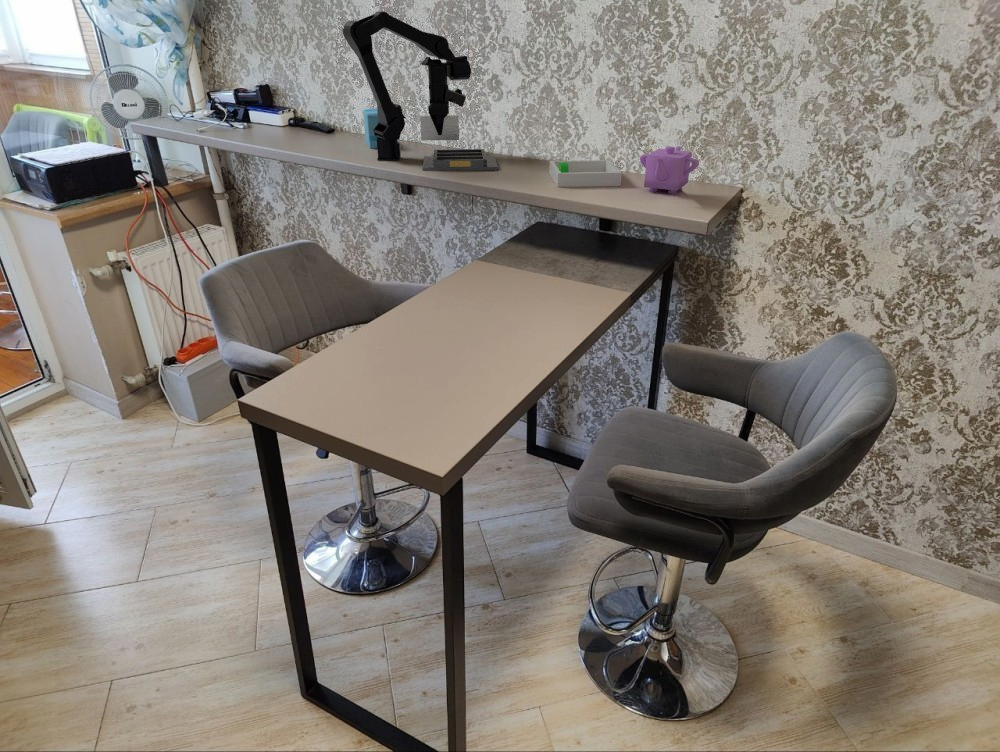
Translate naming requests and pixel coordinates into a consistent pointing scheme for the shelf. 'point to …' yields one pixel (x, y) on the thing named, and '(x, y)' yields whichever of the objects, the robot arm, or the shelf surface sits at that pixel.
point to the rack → (460, 160)
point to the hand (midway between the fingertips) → (440, 134)
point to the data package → (370, 127)
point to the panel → (448, 131)
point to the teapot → (667, 169)
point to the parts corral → (586, 173)
